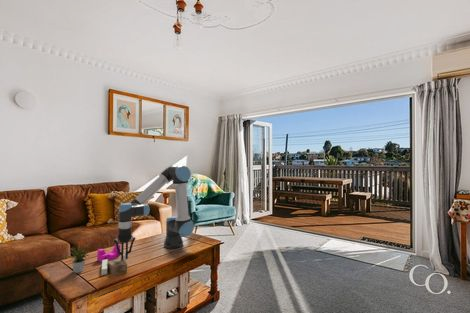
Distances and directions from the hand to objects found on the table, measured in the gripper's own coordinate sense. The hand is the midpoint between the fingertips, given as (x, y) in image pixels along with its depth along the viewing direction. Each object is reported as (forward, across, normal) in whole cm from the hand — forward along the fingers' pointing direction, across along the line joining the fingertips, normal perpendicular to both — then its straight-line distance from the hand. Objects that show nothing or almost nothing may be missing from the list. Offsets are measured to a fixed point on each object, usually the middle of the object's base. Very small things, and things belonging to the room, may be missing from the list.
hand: (124, 264), depth 163 cm
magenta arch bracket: (+2, +10, -20) cm, 22 cm away
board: (+2, +11, 0) cm, 11 cm away
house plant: (+2, +27, -2) cm, 27 cm away
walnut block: (+2, +4, +4) cm, 6 cm away
